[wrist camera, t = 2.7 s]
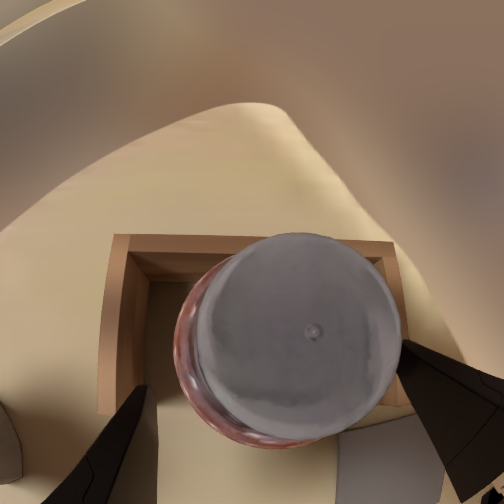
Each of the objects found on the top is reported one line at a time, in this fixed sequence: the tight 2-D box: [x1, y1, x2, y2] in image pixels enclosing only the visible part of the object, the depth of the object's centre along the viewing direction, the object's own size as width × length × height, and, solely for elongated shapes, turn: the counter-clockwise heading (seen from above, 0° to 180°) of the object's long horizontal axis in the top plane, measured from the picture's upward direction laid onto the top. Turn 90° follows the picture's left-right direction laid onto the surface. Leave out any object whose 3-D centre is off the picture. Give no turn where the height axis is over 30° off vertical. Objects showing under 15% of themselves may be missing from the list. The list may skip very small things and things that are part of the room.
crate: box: [97, 234, 411, 417], centre depth 15 cm, size 10×16×5 cm, turn 91°
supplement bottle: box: [173, 233, 402, 449], centre depth 11 cm, size 7×7×13 cm
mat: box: [335, 413, 445, 504], centre depth 13 cm, size 10×10×1 cm
